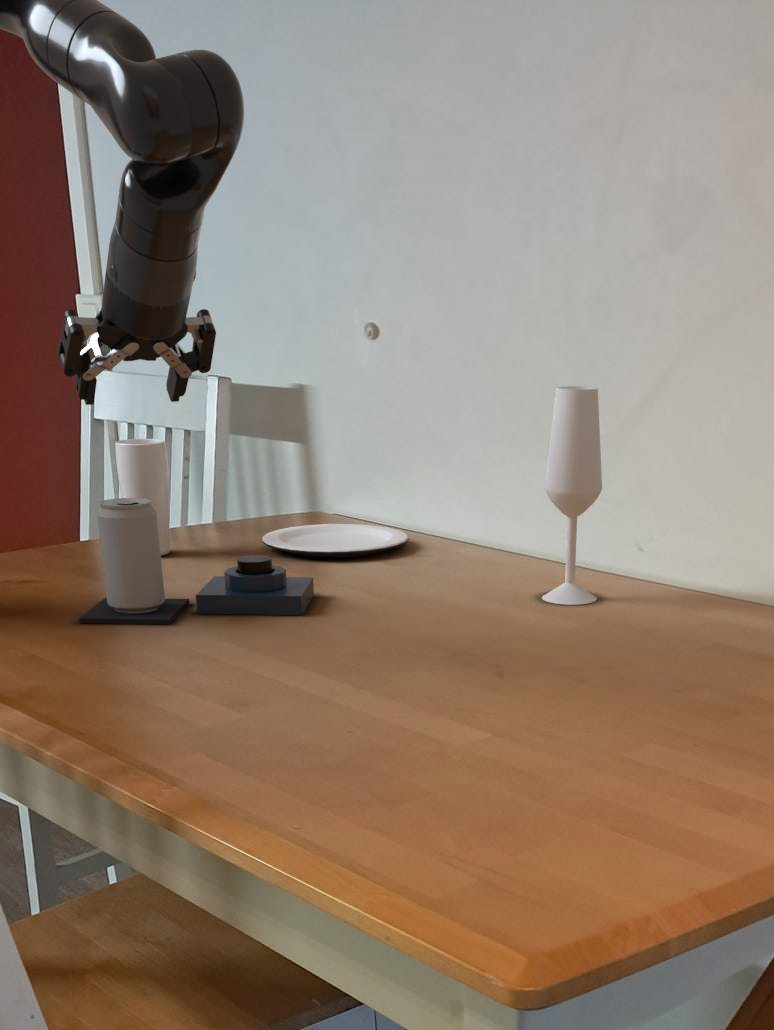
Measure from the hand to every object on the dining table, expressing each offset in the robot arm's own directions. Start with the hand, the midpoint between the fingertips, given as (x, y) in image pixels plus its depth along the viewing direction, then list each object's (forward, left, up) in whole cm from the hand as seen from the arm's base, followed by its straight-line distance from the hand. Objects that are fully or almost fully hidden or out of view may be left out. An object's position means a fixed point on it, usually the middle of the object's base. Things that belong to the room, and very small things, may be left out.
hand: (129, 396), depth 127 cm
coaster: (-4, +9, -24) cm, 26 cm away
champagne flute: (+46, +19, -24) cm, 55 cm away
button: (+9, +14, -21) cm, 26 cm away
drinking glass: (-11, +43, -24) cm, 51 cm away
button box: (+9, +14, -24) cm, 29 cm away
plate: (+14, +49, -24) cm, 56 cm away
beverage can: (-4, +9, -24) cm, 26 cm away
